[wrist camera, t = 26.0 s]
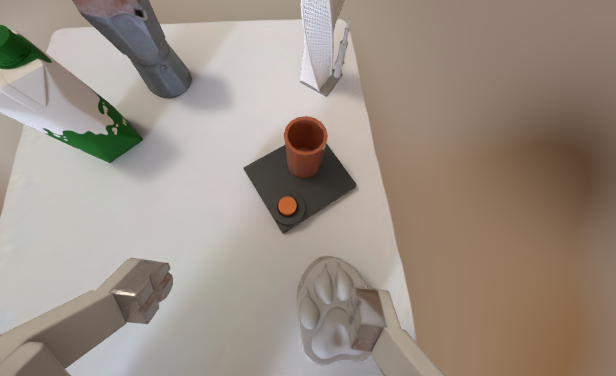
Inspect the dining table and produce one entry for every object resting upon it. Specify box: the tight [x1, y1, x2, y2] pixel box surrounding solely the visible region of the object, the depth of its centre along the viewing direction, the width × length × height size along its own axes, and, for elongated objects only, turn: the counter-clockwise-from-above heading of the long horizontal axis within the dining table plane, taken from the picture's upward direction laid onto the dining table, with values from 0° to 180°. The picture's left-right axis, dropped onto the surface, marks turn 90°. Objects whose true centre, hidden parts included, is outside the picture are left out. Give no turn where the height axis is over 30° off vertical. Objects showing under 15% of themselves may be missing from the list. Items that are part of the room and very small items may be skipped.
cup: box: [284, 116, 328, 178], centre depth 36 cm, size 6×6×10 cm
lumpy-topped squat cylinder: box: [298, 256, 371, 366], centre depth 32 cm, size 10×13×9 cm
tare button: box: [278, 196, 297, 216], centre depth 36 cm, size 3×3×2 cm
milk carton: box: [0, 25, 142, 163], centre depth 33 cm, size 9×9×20 cm
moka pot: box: [72, 0, 191, 98], centre depth 37 cm, size 10×15×20 cm, turn 62°
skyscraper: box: [300, 0, 350, 97], centre depth 35 cm, size 8×8×28 cm
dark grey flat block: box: [244, 144, 357, 233], centre depth 40 cm, size 16×14×4 cm
